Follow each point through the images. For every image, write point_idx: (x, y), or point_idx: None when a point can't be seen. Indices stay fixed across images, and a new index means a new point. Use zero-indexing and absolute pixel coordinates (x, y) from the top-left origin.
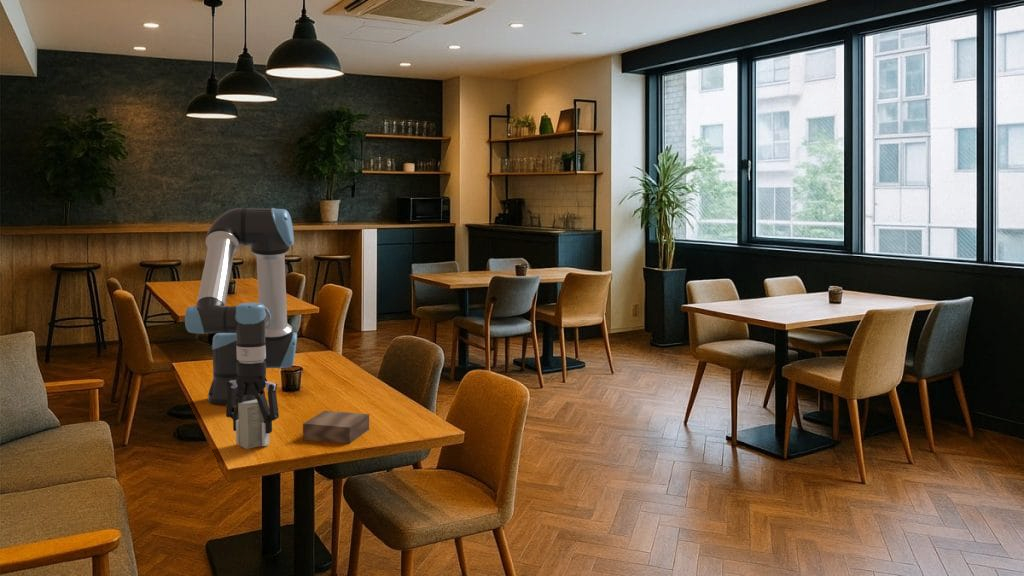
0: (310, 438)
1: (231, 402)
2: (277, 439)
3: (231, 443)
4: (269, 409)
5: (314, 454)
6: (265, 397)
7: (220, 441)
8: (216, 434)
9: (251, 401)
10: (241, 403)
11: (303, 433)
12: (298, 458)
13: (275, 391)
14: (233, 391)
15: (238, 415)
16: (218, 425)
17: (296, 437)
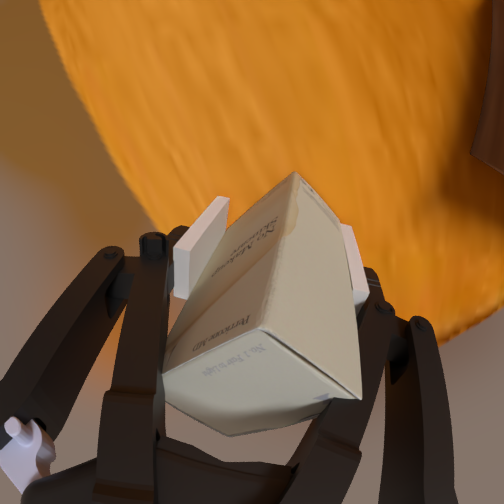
0: (495, 169)
1: (92, 356)
2: (369, 139)
3: (184, 199)
4: (385, 354)
5: (480, 312)
6: (362, 437)
7: (136, 178)
8: (90, 99)
9: (225, 387)
10: (175, 404)
11: (485, 161)
12: (438, 341)
13: (448, 489)
14: (54, 412)
15: (177, 320)
16: (68, 11)
17: (443, 117)
